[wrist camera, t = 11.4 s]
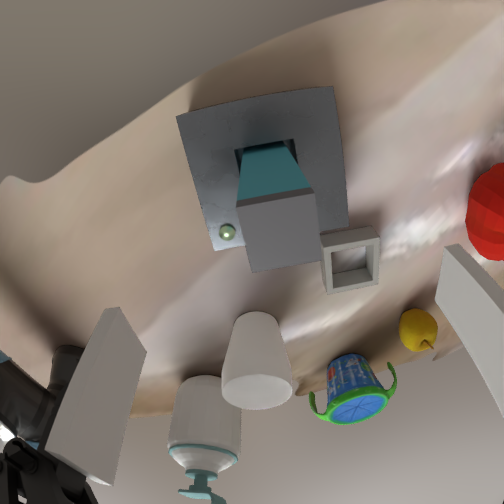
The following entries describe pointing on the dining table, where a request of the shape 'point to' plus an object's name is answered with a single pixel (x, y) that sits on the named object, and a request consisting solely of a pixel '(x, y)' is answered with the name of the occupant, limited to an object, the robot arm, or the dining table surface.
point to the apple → (417, 329)
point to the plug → (276, 209)
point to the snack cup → (353, 391)
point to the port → (260, 132)
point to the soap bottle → (204, 434)
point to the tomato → (487, 214)
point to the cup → (256, 364)
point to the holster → (344, 242)
